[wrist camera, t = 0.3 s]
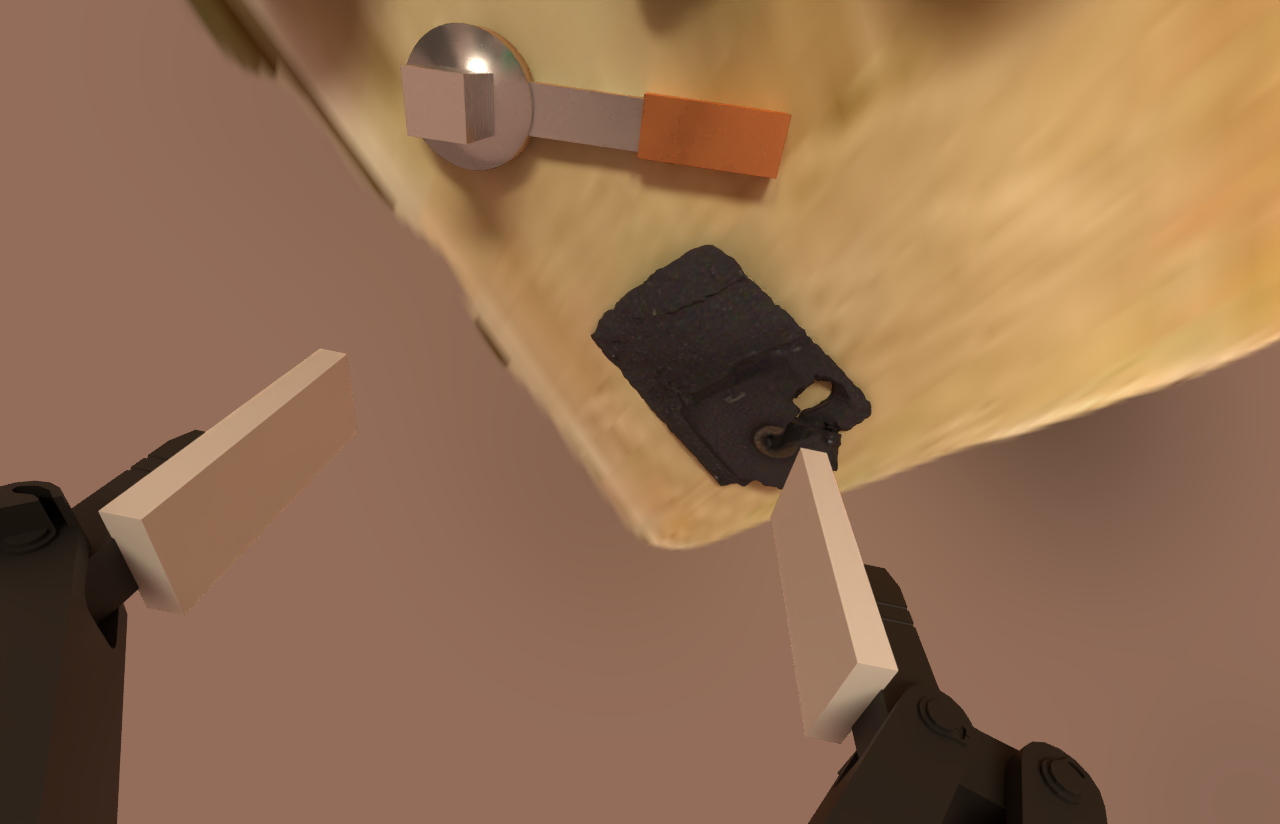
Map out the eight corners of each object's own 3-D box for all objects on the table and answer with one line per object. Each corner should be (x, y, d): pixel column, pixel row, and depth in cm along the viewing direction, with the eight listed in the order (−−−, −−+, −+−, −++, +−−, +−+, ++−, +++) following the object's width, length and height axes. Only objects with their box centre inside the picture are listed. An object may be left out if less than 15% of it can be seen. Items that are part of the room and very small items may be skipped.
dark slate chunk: (733, 204, 38) (737, 220, 34) (881, 416, 46) (898, 449, 42) (576, 327, 44) (564, 352, 40) (731, 495, 52) (733, 531, 48)
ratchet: (424, 157, 38) (373, 173, 32) (412, 16, 33) (350, 5, 27) (764, 207, 37) (776, 233, 31) (796, 72, 33) (817, 72, 27)
